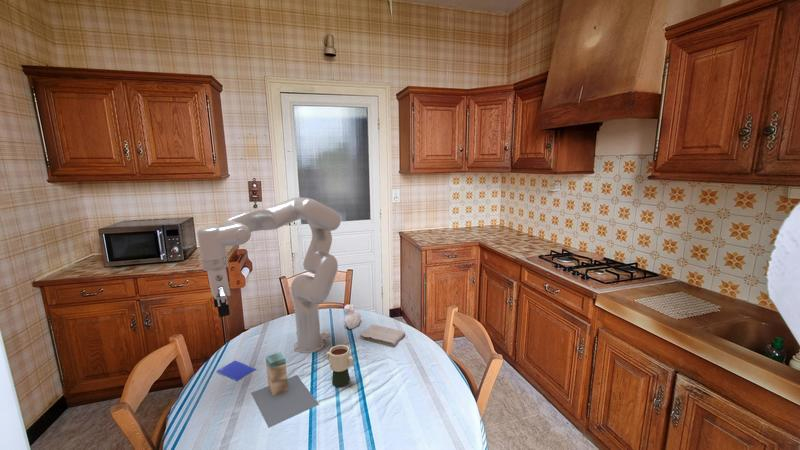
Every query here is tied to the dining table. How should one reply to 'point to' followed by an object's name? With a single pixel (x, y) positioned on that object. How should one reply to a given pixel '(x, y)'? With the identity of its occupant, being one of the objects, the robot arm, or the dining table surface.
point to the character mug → (340, 364)
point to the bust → (351, 316)
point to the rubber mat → (284, 402)
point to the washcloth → (382, 335)
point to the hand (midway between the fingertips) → (222, 310)
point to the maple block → (276, 373)
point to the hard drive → (235, 370)
